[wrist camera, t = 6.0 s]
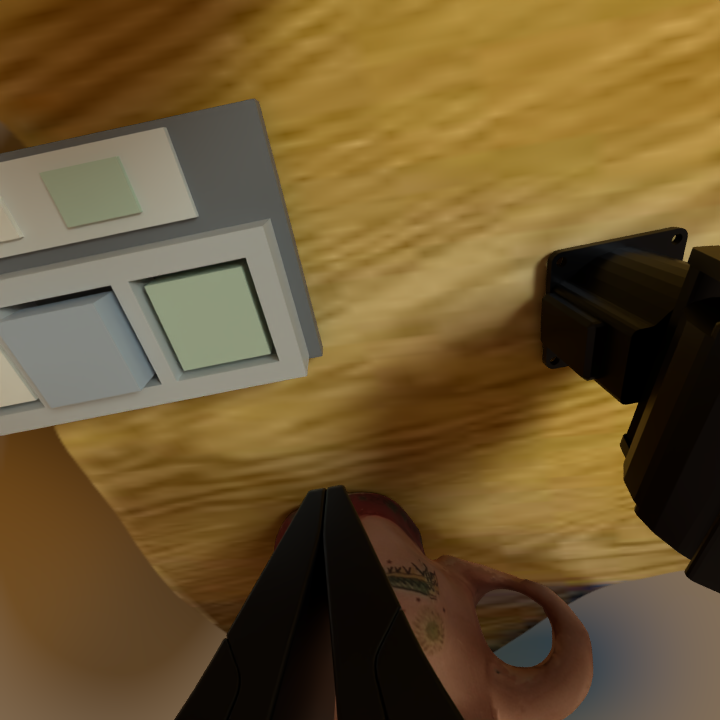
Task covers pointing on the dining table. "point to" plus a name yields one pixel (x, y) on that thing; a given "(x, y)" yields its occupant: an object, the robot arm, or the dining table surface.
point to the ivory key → (13, 383)
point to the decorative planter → (473, 624)
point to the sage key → (211, 314)
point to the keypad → (153, 244)
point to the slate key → (78, 349)
